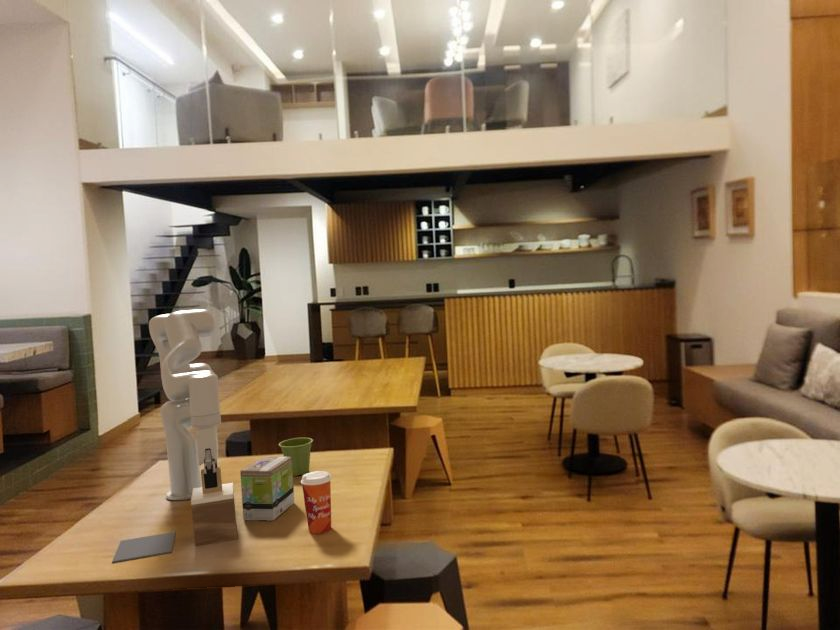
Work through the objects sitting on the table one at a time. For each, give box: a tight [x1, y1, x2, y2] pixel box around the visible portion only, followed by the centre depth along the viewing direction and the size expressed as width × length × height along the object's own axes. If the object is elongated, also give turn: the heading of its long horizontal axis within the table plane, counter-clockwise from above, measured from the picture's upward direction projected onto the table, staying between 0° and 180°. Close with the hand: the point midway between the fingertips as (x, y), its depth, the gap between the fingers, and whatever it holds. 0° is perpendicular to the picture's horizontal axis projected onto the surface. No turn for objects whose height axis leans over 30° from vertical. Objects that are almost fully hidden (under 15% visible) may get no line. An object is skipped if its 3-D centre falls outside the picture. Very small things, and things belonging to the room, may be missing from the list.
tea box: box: [239, 456, 295, 522], centre depth 192 cm, size 15×10×15 cm, turn 168°
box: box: [190, 490, 238, 547], centre depth 177 cm, size 11×11×11 cm
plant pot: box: [278, 437, 314, 477], centre depth 229 cm, size 12×12×11 cm
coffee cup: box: [300, 470, 332, 535], centre depth 176 cm, size 8×8×15 cm
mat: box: [111, 531, 176, 564], centre depth 172 cm, size 14×14×1 cm
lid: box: [190, 466, 234, 505], centre depth 176 cm, size 11×11×8 cm
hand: (211, 482), depth 176 cm, fingers open, 9 cm apart
